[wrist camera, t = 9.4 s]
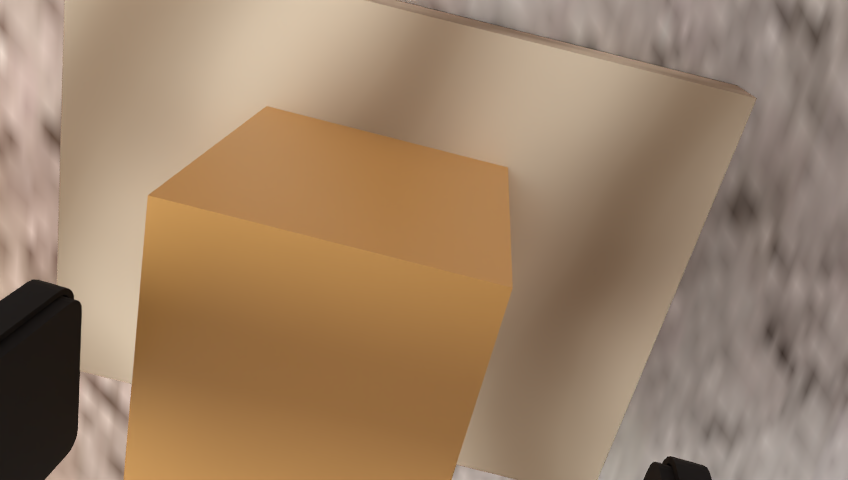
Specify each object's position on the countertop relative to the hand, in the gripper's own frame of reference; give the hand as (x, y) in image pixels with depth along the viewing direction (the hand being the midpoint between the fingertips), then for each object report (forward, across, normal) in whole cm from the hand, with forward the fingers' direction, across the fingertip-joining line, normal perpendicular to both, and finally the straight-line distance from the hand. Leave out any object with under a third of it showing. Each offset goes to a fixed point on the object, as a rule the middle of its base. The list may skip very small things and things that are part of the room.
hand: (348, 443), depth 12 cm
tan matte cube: (+8, +1, 0) cm, 8 cm away
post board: (+9, +2, 0) cm, 9 cm away
